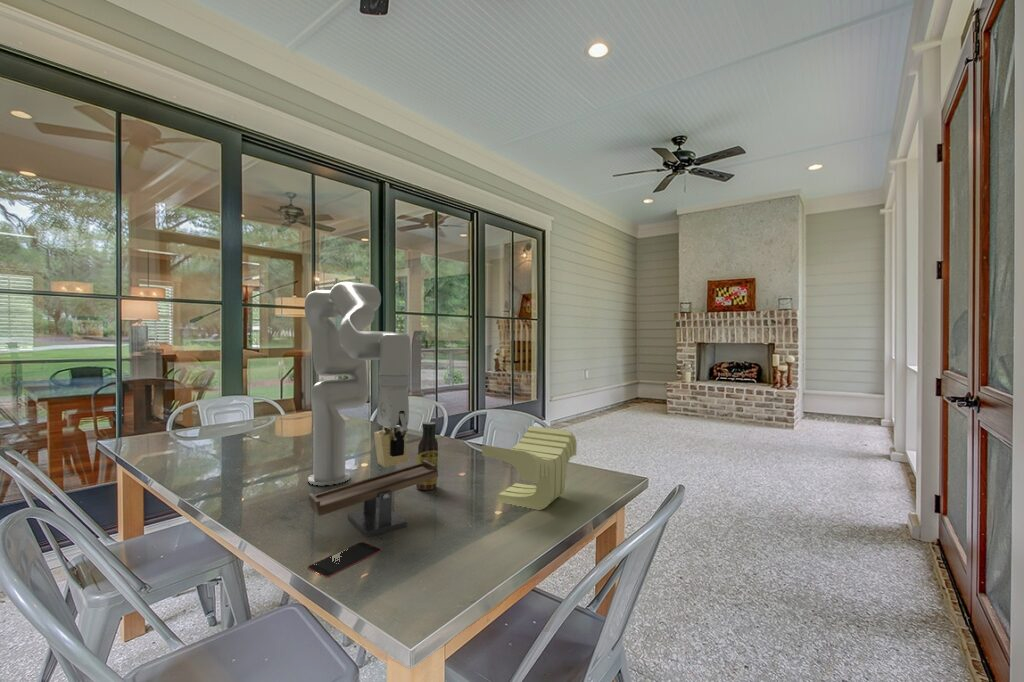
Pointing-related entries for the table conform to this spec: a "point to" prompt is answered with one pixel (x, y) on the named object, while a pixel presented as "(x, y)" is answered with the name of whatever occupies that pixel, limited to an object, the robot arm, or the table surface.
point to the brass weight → (387, 449)
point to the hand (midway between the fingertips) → (392, 452)
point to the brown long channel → (371, 487)
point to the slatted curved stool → (536, 466)
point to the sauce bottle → (428, 452)
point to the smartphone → (344, 559)
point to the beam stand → (377, 516)
